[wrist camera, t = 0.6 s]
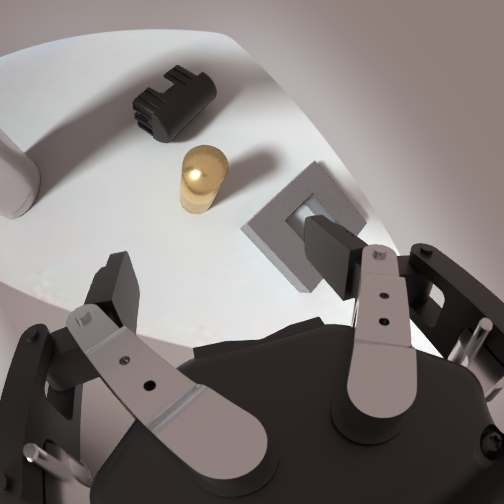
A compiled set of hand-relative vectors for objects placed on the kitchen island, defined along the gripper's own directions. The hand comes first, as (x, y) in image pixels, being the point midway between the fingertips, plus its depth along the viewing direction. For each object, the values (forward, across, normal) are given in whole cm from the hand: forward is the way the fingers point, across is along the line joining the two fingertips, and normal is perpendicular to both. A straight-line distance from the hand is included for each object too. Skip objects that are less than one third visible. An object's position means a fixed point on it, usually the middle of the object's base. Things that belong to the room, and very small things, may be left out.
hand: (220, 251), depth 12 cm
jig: (+23, -14, +11) cm, 29 cm away
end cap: (+32, +1, -6) cm, 33 cm away
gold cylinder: (+25, 0, +5) cm, 25 cm away
